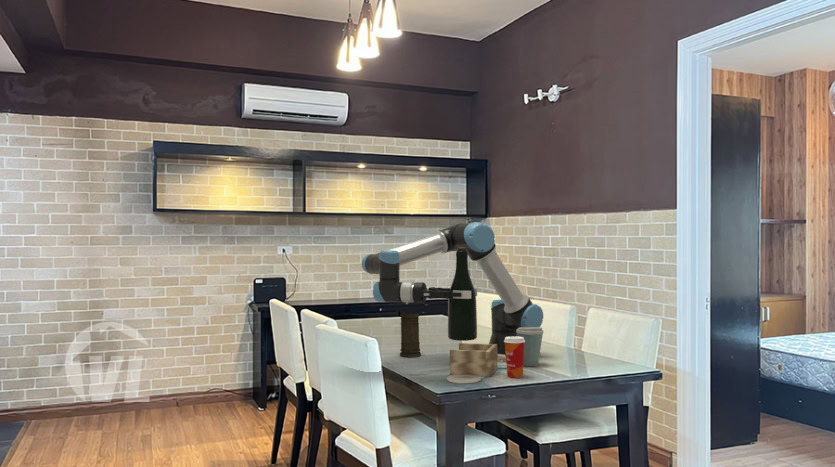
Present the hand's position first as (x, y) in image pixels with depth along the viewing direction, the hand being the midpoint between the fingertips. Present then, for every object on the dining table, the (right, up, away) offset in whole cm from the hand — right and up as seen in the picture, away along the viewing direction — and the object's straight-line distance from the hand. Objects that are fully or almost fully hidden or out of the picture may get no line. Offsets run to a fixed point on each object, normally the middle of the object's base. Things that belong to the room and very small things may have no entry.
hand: (474, 293), depth 229 cm
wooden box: (+1, -31, +13) cm, 33 cm away
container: (-23, -31, +46) cm, 60 cm away
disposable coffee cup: (+24, -30, +23) cm, 45 cm away
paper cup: (+15, -31, +3) cm, 34 cm away
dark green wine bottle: (-4, -17, +1) cm, 17 cm away
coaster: (-4, -31, -1) cm, 31 cm away
